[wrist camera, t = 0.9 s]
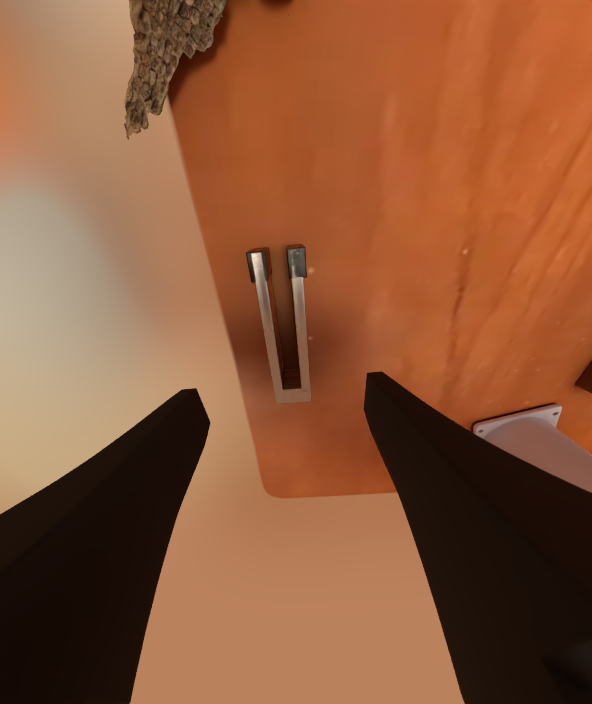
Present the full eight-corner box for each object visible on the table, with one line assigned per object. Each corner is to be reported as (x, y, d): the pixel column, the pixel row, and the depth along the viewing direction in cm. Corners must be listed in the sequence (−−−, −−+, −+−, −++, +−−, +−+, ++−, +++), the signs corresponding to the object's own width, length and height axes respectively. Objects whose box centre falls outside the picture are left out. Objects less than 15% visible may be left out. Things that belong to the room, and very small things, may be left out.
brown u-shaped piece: (310, 380, 19) (314, 401, 17) (275, 383, 19) (273, 404, 17) (302, 243, 14) (305, 246, 11) (253, 248, 14) (245, 252, 11)
